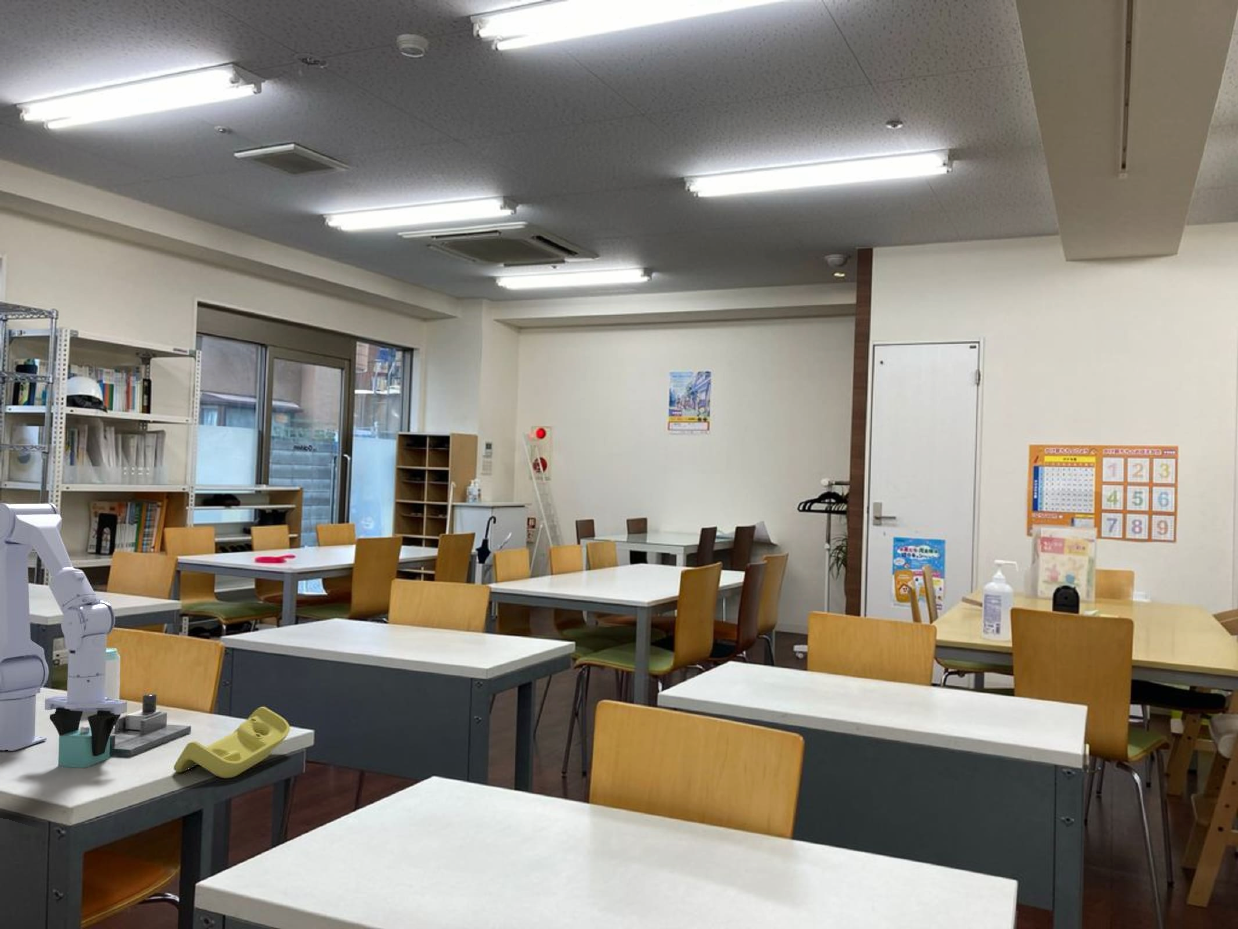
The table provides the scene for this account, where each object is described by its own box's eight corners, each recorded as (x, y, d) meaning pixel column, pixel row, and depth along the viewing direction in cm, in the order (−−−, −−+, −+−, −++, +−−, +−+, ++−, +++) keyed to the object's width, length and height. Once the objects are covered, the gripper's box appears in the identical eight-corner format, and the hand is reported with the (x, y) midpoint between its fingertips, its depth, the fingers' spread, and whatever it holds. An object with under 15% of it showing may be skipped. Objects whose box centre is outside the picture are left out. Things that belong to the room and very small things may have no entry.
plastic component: (233, 767, 154) (184, 736, 156) (216, 805, 156) (168, 774, 157) (300, 728, 174) (256, 701, 176) (285, 762, 175) (241, 735, 177)
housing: (58, 765, 161) (59, 730, 161) (84, 756, 167) (85, 721, 167) (84, 767, 160) (85, 732, 160) (109, 758, 166) (110, 723, 166)
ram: (125, 728, 180) (126, 699, 180) (143, 722, 185) (144, 693, 185) (144, 730, 179) (145, 700, 179) (162, 723, 184) (163, 694, 184)
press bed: (65, 751, 169) (66, 731, 169) (130, 728, 186) (131, 709, 186) (130, 756, 167) (131, 736, 167) (190, 732, 184) (191, 713, 184)
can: (85, 711, 199) (87, 653, 199) (78, 705, 204) (80, 649, 204) (122, 706, 203) (124, 650, 203) (114, 700, 208) (116, 646, 209)
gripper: (31, 676, 161) (29, 757, 161) (107, 681, 158) (105, 763, 158) (63, 668, 168) (60, 746, 168) (136, 673, 165) (134, 751, 165)
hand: (84, 753), depth 163 cm, fingers closed on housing, 5 cm apart
